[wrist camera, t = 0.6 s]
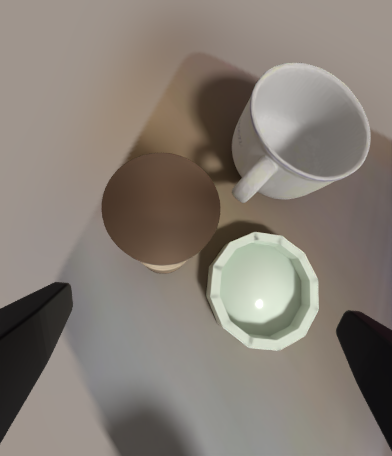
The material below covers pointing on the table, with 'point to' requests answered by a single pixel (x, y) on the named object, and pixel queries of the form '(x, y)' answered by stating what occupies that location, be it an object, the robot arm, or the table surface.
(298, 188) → the teacup
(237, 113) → the table surface
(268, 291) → the bowl
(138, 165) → the canister
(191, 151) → the table surface
